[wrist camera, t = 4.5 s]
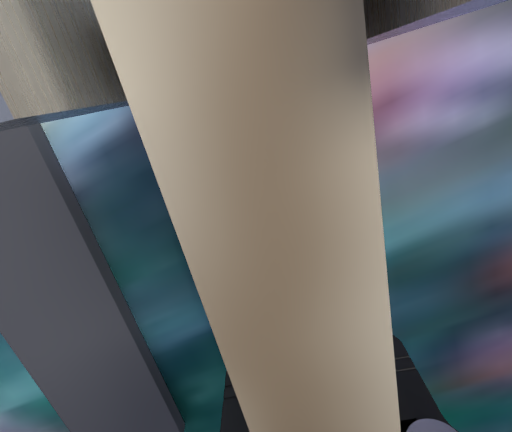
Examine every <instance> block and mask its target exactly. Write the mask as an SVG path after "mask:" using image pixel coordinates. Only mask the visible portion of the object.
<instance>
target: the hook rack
mask: <svg viewBox="0 0 512 432" xmlns="http://www.w3.org/2000/svg"><path fill="white" fill-rule="evenodd" d="M505 1H508V0H363V5H364V16H365V27H366V39H367V45H368V44H372V43H375V42H378V41H381V40H384V39H387V38H391V37H394V36H397V35H400V34H403V33H406V32H410V31H413V30H416V29H419V28H422V27H426V26H429V25H432V24H435V23H438V22H441V21H445V20H448V19H451V18H454V17H457V16H460V15H464V14H467V13H470V12H473V11H476V10H479V9H483V8H486V7H489V6H492V5H495V4H499V3H502V2H505ZM124 106H129V103H128V101H127V98H126V95H125V93H124V90H123V87H122V85H121V82H120V79H119V76H118V74H117V71H116V68H115V66H114V63H113V60H112V57H111V55H110V52H109V49H108V47H107V44H106V41H105V38H104V36H103V33H102V30H101V28H100V25H99V22H98V20H97V17H96V14H95V11H94V9H93V6H92V3H91V1H90V0H0V131H4V130H9V129H14V128H19V127H24V126H29V125H34V124H39V123H44V122H49V121H54V120H59V119H64V118H69V117H74V116H79V115H84V114H89V113H94V112H99V111H104V110H109V109H114V108H119V107H124Z"/></svg>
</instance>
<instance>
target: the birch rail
mask: <svg viewBox="0 0 512 432" xmlns="http://www.w3.org/2000/svg"><path fill="white" fill-rule="evenodd" d="M90 1H91V3H92V6H93V9H94V11H95V14H96V17H97V20H98V22H99V25H100V28H101V30H102V33H103V36H104V38H105V41H106V44H107V47H108V49H109V52H110V55H111V57H112V60H113V63H114V66H115V68H116V71H117V74H118V76H119V79H120V82H121V85H122V87H123V90H124V93H125V95H126V98H127V101H128V103H129V106H130V109H131V112H132V114H133V117H134V120H135V122H136V125H137V128H138V131H139V133H140V136H141V139H142V141H143V144H144V147H145V150H146V152H147V155H148V158H149V160H150V163H151V166H152V168H153V171H154V174H155V177H156V179H157V182H158V185H159V187H160V190H161V193H162V196H163V198H164V201H165V204H166V206H167V209H168V212H169V215H170V217H171V220H172V223H173V225H174V228H175V231H176V233H177V236H178V239H179V242H180V244H181V247H182V250H183V252H184V255H185V258H186V261H187V263H188V266H189V269H190V271H191V274H192V277H193V280H194V282H195V285H196V288H197V290H198V293H199V296H200V298H201V301H202V304H203V307H204V309H205V312H206V315H207V317H208V320H209V323H210V326H211V328H212V331H213V334H214V336H215V339H216V342H217V345H218V347H219V350H220V353H221V355H222V358H223V361H224V363H225V366H226V369H227V372H228V374H229V377H230V380H231V382H232V385H233V388H234V391H235V393H236V396H237V399H238V401H239V404H240V407H241V410H242V412H243V415H244V418H245V420H246V423H247V426H248V428H249V431H250V432H401V427H400V415H399V404H398V392H397V381H396V370H395V358H394V347H393V335H392V324H391V312H390V301H389V290H388V278H387V267H386V255H385V244H384V233H383V221H382V210H381V198H380V187H379V176H378V164H377V153H376V141H375V130H374V119H373V107H372V96H371V84H370V73H369V62H368V50H367V39H366V27H365V16H364V5H363V0H90Z"/></svg>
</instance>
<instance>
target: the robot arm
mask: <svg viewBox="0 0 512 432" xmlns="http://www.w3.org/2000/svg"><path fill="white" fill-rule="evenodd" d="M392 335H393V334H392ZM393 347H394V358H395V370H396V381H397V392H398V404H399V415H400V427H401V432H458V431H457V430H456V429H454V428H453V427H452V426H451V425H450V424H449V423H448V422H447V421H446V420H445V419H444V417H443V416H442V414H441V412H440V411H439V409H438V407H437V405H436V403H435V402H434V400H433V398H432V396H431V394H430V393H429V391H428V389H427V387H426V385H425V383H424V382H423V380H422V378H421V376H420V374H419V373H418V371H417V370H416V368H415V365H414V364H413V362H412V360H411V358H409V355H408V353H407V351H406V349H405V347H404V346H403V344H402V342H401V341H400V340H399V339H397V338H396V337H395V336H394V335H393ZM220 432H250V431H249V428H248V426H247V423H246V420H245V418H244V415H243V412H242V410H241V407H240V404H239V401H238V399H237V396H236V393H235V391H234V388H233V385H232V382H231V380H230V377H229V374H228V372H227V371H226V379H225V389H224V401H223V409H222V419H221V429H220Z"/></svg>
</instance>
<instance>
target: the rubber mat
mask: <svg viewBox="0 0 512 432" xmlns="http://www.w3.org/2000/svg"><path fill="white" fill-rule="evenodd" d="M0 333H1V334H2V335H3V337H4V338H5V340H6V341H7V342H8V344H9V345H10V347H11V348H12V350H13V351H14V352H15V354H16V355H17V357H18V358H19V360H20V361H21V362H22V364H23V365H24V367H25V368H26V370H27V371H28V372H29V374H30V375H31V377H32V378H33V379H34V381H35V382H36V384H37V385H38V387H39V388H40V389H41V391H42V392H43V394H44V395H45V397H46V398H47V399H48V401H49V402H50V404H51V405H52V406H53V408H54V409H55V411H56V412H57V414H58V415H59V416H60V418H61V419H62V421H63V422H64V424H65V425H66V426H67V428H68V429H69V431H70V432H184V427H185V423H184V421H183V419H182V417H181V415H180V413H179V411H178V408H177V406H176V404H175V402H174V400H173V398H172V396H171V394H170V392H169V390H168V388H167V386H166V384H165V382H164V379H163V377H162V375H161V373H160V371H159V369H158V367H157V365H156V363H155V361H154V359H153V357H152V355H151V353H150V350H149V348H148V346H147V344H146V342H145V340H144V338H143V336H142V334H141V332H140V330H139V328H138V326H137V324H136V321H135V319H134V317H133V315H132V313H131V311H130V309H129V307H128V305H127V303H126V301H125V299H124V297H123V294H122V292H121V290H120V288H119V286H118V284H117V282H116V280H115V278H114V276H113V274H112V272H111V270H110V268H109V265H108V263H107V261H106V259H105V257H104V255H103V253H102V251H101V249H100V247H99V245H98V243H97V241H96V239H95V236H94V234H93V232H92V230H91V228H90V226H89V224H88V222H87V220H86V218H85V216H84V214H83V212H82V210H81V207H80V205H79V203H78V201H77V199H76V197H75V195H74V193H73V191H72V189H71V187H70V185H69V183H68V181H67V178H66V176H65V174H64V172H63V170H62V168H61V166H60V164H59V162H58V160H57V158H56V156H55V154H54V152H53V149H52V147H51V145H50V143H49V141H48V139H47V137H46V135H45V133H44V131H43V129H42V127H41V125H40V123H39V124H34V125H29V126H24V127H19V128H14V129H9V130H4V131H0Z"/></svg>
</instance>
